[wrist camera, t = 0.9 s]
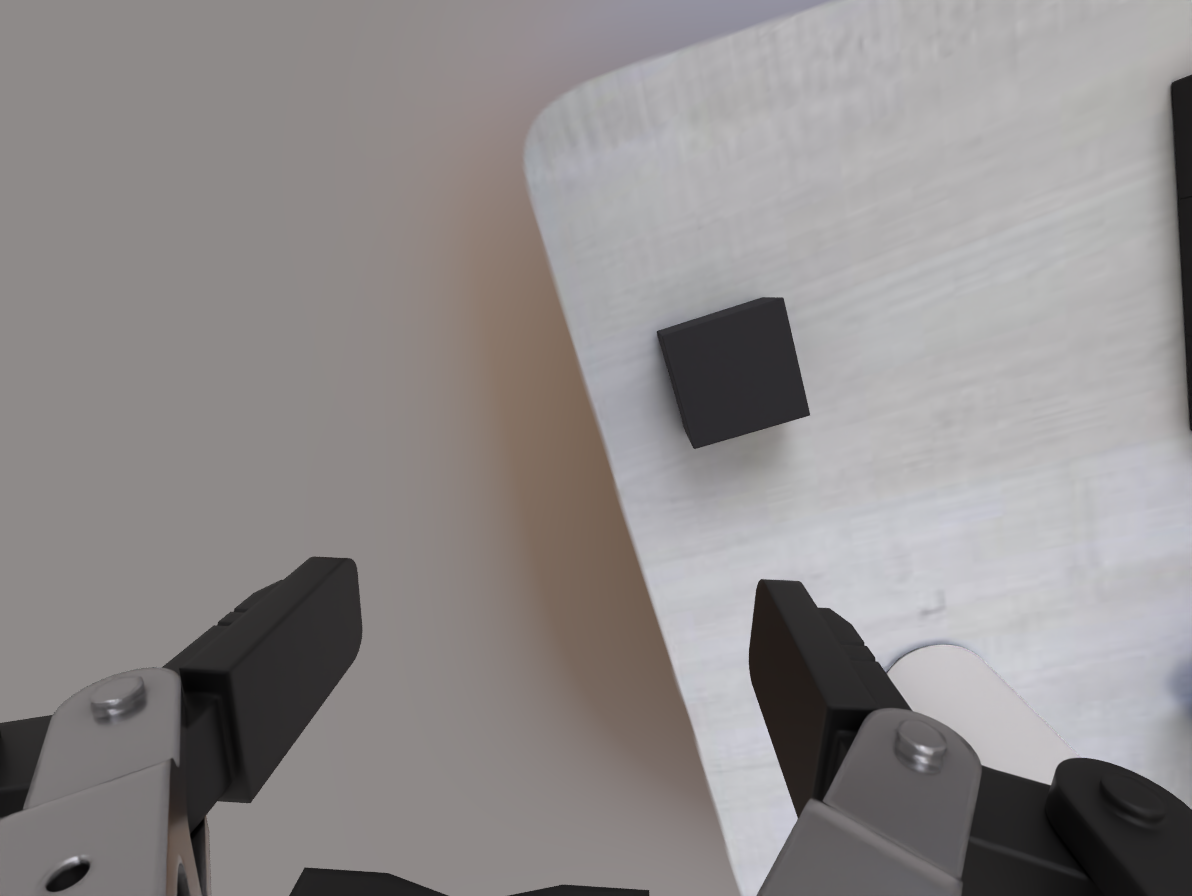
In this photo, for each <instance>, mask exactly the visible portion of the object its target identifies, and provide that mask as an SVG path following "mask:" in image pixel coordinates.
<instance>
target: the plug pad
mask: <svg viewBox="0 0 1192 896" xmlns="http://www.w3.org/2000/svg"><path fill="white" fill-rule="evenodd" d="M657 334H658V338H659V341H660V345H661V348H662V352H663V355H664V359H665V362H666V366H667V369H668V373H669V376H670V380H671V383H672V387H673V390H674V394H675V397H676V401H677V404H678V408H679V411H680V415H681V418H682V422H683V425H684V429H685V432H686V434H687V436H688V438H689V440H690V442H691V444H692V446H693V448H694V449H696V448H700V447H703V446H707V445H710V444H714V443H717V442H720V441H724V440H727V439H731V438H734V437H738V436H741V435H744V434H748V433H751V432H755V431H758V430H762V429H765V428H768V427H772V426H775V425H779V424H782V423H786V422H789V421H792V420H796V419H799V418H803V417H806V416H809V415H810V412H809V408H808V403H807V399H806V395H805V390H804V386H803V382H802V377H801V373H800V368H799V364H798V360H797V355H796V351H795V346H794V342H793V338H792V333H791V329H790V324H789V320H788V316H787V311H786V307H785V303H784V298H770V297H762V298H759V299H756V300H753V301H750V302H747V303H744V304H741V305H737V306H734V307H731V308H728V309H725V310H722V311H719V312H716V313H712V314H709V315H706V316H703V317H700V318H697V319H694V320H690V321H687V322H684V323H681V324H678V325H675V326H672V327H669V328H665V329H662V330H659V331H657Z"/></svg>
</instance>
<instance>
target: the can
mask: <svg viewBox="0 0 1192 896" xmlns="http://www.w3.org/2000/svg"><path fill="white" fill-rule="evenodd" d="M887 675H888V677H889V678H890V680H891V681H892V682H893V684H894V685H895V687H896V688H897V689H898V691H899V692H900V694H901V695H902V697H903V698H904V699H905V701H906V702H907V704H908V705H909V706H910V708H911V709H912V711H914V712H918V713H921V714H923V715H926V716H929V717H931V718H933V719H935V720H937V721H939V722H941V723H943V724H945V725H946V726H948V727H950V728H951V729H952V730H954V731H955V732H957V733H958V734H959V735H960V736H961V737H963V738H964V739H965V740H966V741H967V742H968V743H969V744H970V745H971V746H972V748H973V749H974V751H975V752H976V753H977V755H978V757H979V759H980V762H981V765H983V766H986V767H989V768H992V769H995V770H999V771H1002V772H1006V773H1009V774H1013V775H1016V776H1020V777H1023V778H1027V779H1030V780H1034V781H1037V782H1041V783H1044V784H1048V785H1051V783H1052V780H1053V777H1054V774H1055V770H1056V768H1057V766H1058V764H1059V763H1061V762H1062V761H1064V760H1067V759H1070V758H1081V757H1080V756H1079V755H1078V754H1077V753H1076V752H1075V751H1074V750H1073V749H1072V748H1071V747H1070V746H1069V745H1068V744H1067V743H1066V742H1065V741H1064V740H1063V739H1062V738H1061V737H1060V736H1059V735H1058V734H1057V732H1056V731H1055V730H1054V729H1053V728H1052V727H1051V726H1050V725H1049V724H1048V723H1047V722H1046V721H1045V720H1044V719H1043V718H1042V717H1041V716H1040V715H1039V714H1038V713H1037V712H1036V711H1035V710H1034V709H1033V708H1032V707H1031V706H1030V705H1029V704H1028V703H1027V702H1026V701H1025V700H1024V699H1023V698H1022V697H1021V696H1020V695H1019V694H1017V693H1016V692H1015V691H1014V690H1013V689H1012V688H1011V687H1010V686H1009V685H1008V684H1007V683H1006V682H1005V681H1004V680H1003V679H1002V678H1001V677H1000V676H999V675H998V674H997V673H996V672H995V671H994V670H993V669H992V668H991V667H990V666H989V665H988V664H987V663H986V662H985V661H984V660H983V659H982V658H980V657H979V656H978V655H977V654H975V653H974V652H972V651H970V650H968V649H965V648H962V647H959V646H953V645H932V646H926V647H922V648H919V649H916V650H914V651H911V652H909V653H908V654H906V655H904V656H903V657H902V658H900V659H899V660H898V661H897V662H896V663H895V664H894V665H893V666H892V667H891V668H890V670H889V671H888V673H887Z"/></svg>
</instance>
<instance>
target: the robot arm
mask: <svg viewBox="0 0 1192 896" xmlns="http://www.w3.org/2000/svg"><path fill="white" fill-rule="evenodd" d="M361 639H362V619H361V608H360V595H359V585H358V572H357V567H356V564H355V562H354V561H353V560H352V559H350V558H332V557H311V558H309V559H308V560H307V561H305V562H304V563H303V564H302V565H301V566H299V567H298V568H297V569H296V570H295V571H294V572H292V573H291V574H290V575H289V576H288V577H286V578H285V579H284V580H280V581H278V582H276V583H274V584H271V585H270V586H268V587H265V588H263V589H261V590H259V591H257V592H255V593H253V594H252V595H251V596H250V597H248V598H247V599H246V600H245V601H243V602H242V603H241V604H240V605H238V606H237V607H236V608H235V609H234V612H230V613H229V614H227V615H226V616H225V617H224V618H222V619H221V620H220V621H219V622H218V625H217V626H213V627H211V628H210V629H209V630H208V631H206V632H205V633H204V634H203V635H201V636H200V637H199V638H198V639H197V640H195V641H194V642H193V643H192V644H190V645H189V646H188V647H187V648H186V649H184V650H183V651H182V652H181V653H179V654H178V655H177V656H176V657H174V658H173V659H172V660H171V661H169V662H168V663H167V664H166V665H164V666H163V667H162V668H156V667H152V668H141V669H135V670H130V671H126V672H122V673H119V674H116V675H112V676H110V677H107V678H105V679H102V680H100V681H98V682H95V683H93V684H91V685H89V686H87V687H85V688H84V689H82V690H80V691H79V692H77V693H75V694H74V695H72V696H71V697H70V698H69V699H67V700H66V701H65V702H64V703H63V704H61V705H60V706H59V707H58V709H57V710H56V712H54V714H53V715H50V716H44V717H36V718H30V719H24V720H17V721H11V722H4V723H0V896H211V870H210V844H209V829H208V824H207V818H206V815H207V813H208V812H209V811H210V809H211V808H212V807H213V806H214V804H215V803H216V802H217V801H223V802H239V803H251V802H252V800H253V799H254V797H255V796H256V795H257V793H258V792H259V791H260V789H261V788H262V786H263V785H264V784H265V782H266V781H267V780H268V778H269V777H270V775H271V774H272V773H273V771H274V770H275V768H276V767H277V766H278V764H279V763H280V762H281V760H282V759H283V758H284V756H285V755H286V754H287V752H288V751H289V749H290V748H291V746H292V745H293V744H294V743H295V741H296V740H297V738H298V737H299V736H300V734H301V733H302V732H303V730H304V729H305V727H306V726H307V725H308V723H309V722H310V721H311V719H312V718H313V716H314V715H315V714H316V712H317V711H318V710H319V708H320V707H321V706H322V704H323V703H324V701H325V700H326V699H327V697H328V696H329V694H330V693H331V692H332V690H333V689H334V687H335V686H336V685H337V684H338V682H339V680H340V679H341V678H342V677H343V675H344V674H345V673H346V671H347V670H348V668H349V667H350V666H351V664H352V663H353V661H354V660H355V658H356V656H357V654H358V651H359V648H360V644H361ZM749 670H750V677H751V682H752V685H753V688H754V691H755V694H756V697H757V700H758V703H759V706H760V709H761V712H762V714H763V717H764V720H765V723H766V726H767V729H768V732H769V735H770V738H771V741H772V744H773V747H774V750H775V752H776V755H777V758H778V761H779V764H780V767H781V770H782V773H783V776H784V779H785V782H786V785H787V788H788V790H789V793H790V796H791V799H792V802H793V805H794V808H795V811H796V814H797V817H798V820H797V822H796V824H795V826H794V827H793V829H792V831H791V833H790V835H789V837H788V838H787V840H786V842H785V844H784V846H783V848H782V850H781V851H780V853H779V855H778V857H777V859H776V861H775V862H774V864H773V866H772V868H771V870H770V872H769V874H768V875H767V877H766V879H765V881H764V883H763V885H762V887H761V888H760V890H759V892H758V894H757V896H1192V809H1190V808H1189V807H1188V806H1187V805H1186V804H1185V803H1184V802H1182V801H1181V800H1180V799H1178V798H1177V797H1176V796H1174V795H1173V794H1172V793H1170V792H1169V791H1167V790H1166V789H1164V788H1162V787H1161V786H1159V785H1158V784H1156V783H1154V782H1152V781H1150V780H1149V779H1147V778H1145V777H1143V776H1141V775H1139V774H1137V773H1135V772H1132V771H1130V770H1128V769H1125V768H1123V767H1120V766H1117V765H1114V764H1111V763H1108V762H1104V761H1100V760H1096V759H1089V758H1070V759H1067V760H1064V761H1062V762H1061V763H1059V764H1058V766H1057V768H1056V770H1055V774H1054V777H1053V780H1052V783H1051V785H1048V784H1044V783H1041V782H1037V781H1034V780H1030V779H1027V778H1023V777H1020V776H1016V775H1013V774H1009V773H1006V772H1002V771H999V770H995V769H992V768H989V767H986V766H983V765H981V762H980V759H979V757H978V755H977V753H976V752H975V751H974V749H973V748H972V746H971V745H970V744H969V743H968V742H967V741H966V740H965V739H964V738H963V737H961V736H960V735H959V734H958V733H957V732H955V731H954V730H952V729H951V728H950V727H948V726H946V725H945V724H943V723H941V722H939V721H937V720H935V719H933V718H931V717H929V716H926V715H923V714H921V713H918V712H914V711H912V709H911V708H910V706H909V705H908V704H907V702H906V701H905V699H904V698H903V697H902V695H901V694H900V692H899V691H898V689H897V688H896V687H895V685H894V684H893V682H892V681H891V680H890V678H889V677H888V675H887V674H886V672H885V671H884V670H883V668H882V667H881V665H880V664H879V663H878V662H876V661H875V657H874V656H873V654H872V653H871V651H870V650H869V648H868V647H867V646H864V641H863V640H862V639H861V637H860V636H859V634H858V633H857V631H856V630H855V629H854V627H853V626H852V624H850V623H849V622H848V621H846V620H845V619H843V618H842V617H841V616H839V615H838V614H837V613H835V612H834V611H832V610H831V609H830V608H817V606H816V604H815V603H814V601H813V600H812V598H811V597H810V595H809V593H808V592H807V590H806V589H805V587H804V586H803V584H802V583H801V582H800V581H786V580H766V579H761V580H760V581H759V582H758V585H757V589H756V596H755V605H754V613H753V622H752V630H751V638H750V647H749ZM289 896H448V895H445V894H442V893H440V892H437V891H434V890H432V889H429V888H426V887H423V886H421V885H418V884H416V883H413V882H410V881H407V880H405V879H402V878H400V877H397V876H394V875H391V874H389V873H378V872H362V871H347V870H333V869H318V868H304V870H303V872H302V874H301V875H300V877H299V879H298V881H297V883H296V884H295V886H294V888H293V890H292V892H291V894H290V895H289ZM510 896H649V890H636V889H621V888H606V887H591V886H575V885H559V886H554V887H549V888H544V889H540V890H534V891H529V892H524V893H519V894H515V895H510Z"/></svg>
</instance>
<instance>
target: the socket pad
mask: <svg viewBox="0 0 1192 896" xmlns="http://www.w3.org/2000/svg"><path fill="white" fill-rule="evenodd" d="M1172 93H1173V111H1174V129H1175V147H1176V165H1177V183H1178V198H1181V199H1179V200H1178V205H1179V223H1180V241H1181V259H1182V277H1183V295H1184V313H1185V330H1186V335H1187V336H1186V350H1187V368H1188V386H1189V404H1190V422H1191V431H1192V75H1190V76H1187V77H1185V78H1182V79H1179V80H1177V81H1174V82H1173V83H1172Z"/></svg>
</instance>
